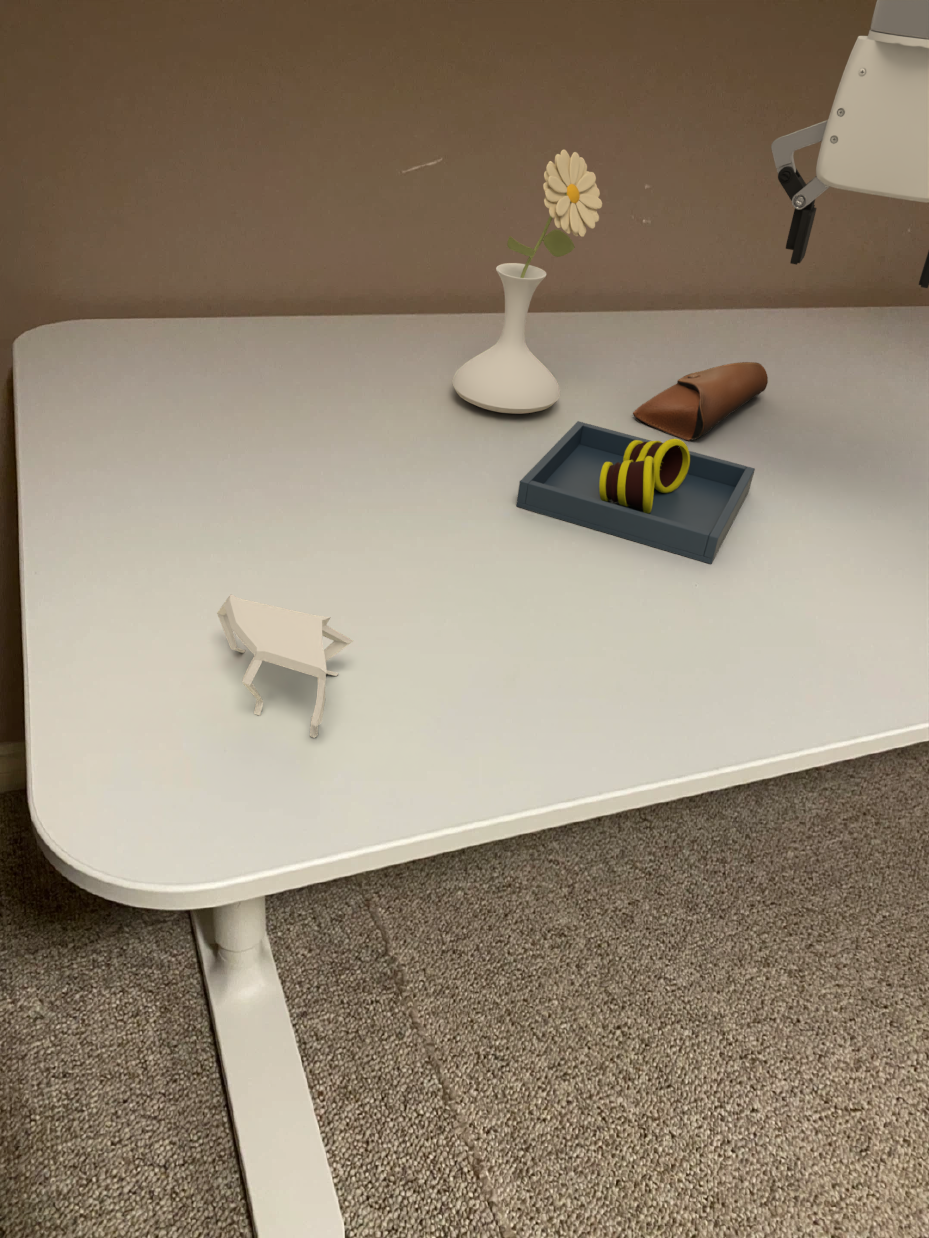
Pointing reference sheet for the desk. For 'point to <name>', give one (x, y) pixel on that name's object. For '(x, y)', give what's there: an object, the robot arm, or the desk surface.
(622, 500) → the opera glasses
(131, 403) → the desk surface
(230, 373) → the desk surface
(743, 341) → the desk surface
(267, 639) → the origami figure
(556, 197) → the flower in vase
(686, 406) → the sunglasses case
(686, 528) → the tray
